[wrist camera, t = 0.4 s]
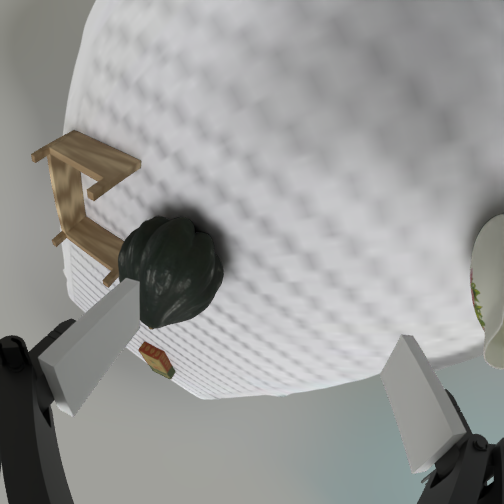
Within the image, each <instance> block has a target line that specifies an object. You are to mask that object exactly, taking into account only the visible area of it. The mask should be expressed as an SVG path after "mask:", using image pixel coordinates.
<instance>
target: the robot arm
mask: <svg viewBox="0 0 504 504" xmlns="http://www.w3.org/2000/svg"><path fill="white" fill-rule="evenodd" d="M139 287H140V282H139V281H135V280H132V279H128V278H125V279H124V280H123V281H122V282H121V283H119V284H118V285H117V286H116V287H115V288H114V289H112V290H111V291H110V292H109V293H108V294H107V295H105V296H104V297H103V298H102V299H101V300H100V301H98V302H97V303H96V304H95V305H94V306H93V307H92V308H91V309H89V310H88V311H87V312H86V313H85V314H84V315H83V316H82V317H81V318H79V319H78V320H77V321H76V320H74V319H69V320H67V321H64V322H62V323H60V324H59V325H58V326H57V327H56V328H55V329H54V330H53V331H51V332H50V333H49V334H48V336H46V337H45V338H43V339H42V340H41V341H40V342H39V343H38V344H37V345H36V346H35V347H34V348H33V349H32V350H31V351H29V352H28V350H27V347H26V344H25V342H24V340H23V339H22V338H20V337H18V336H13V335H11V336H6V337H4V338H2V339H0V471H1V461H2V469H3V476H4V482H5V488H6V493H7V498H8V503H9V504H74V502H73V499H72V497H71V493H70V490H69V487H68V484H67V480H66V477H65V473H64V469H63V466H62V462H61V457H60V453H59V448H58V444H57V438H56V433H55V427H54V421H53V414H52V409H51V406H50V404H51V403H52V402H53V401H54V400H55V402H56V404H57V406H58V408H59V409H60V410H62V411H63V412H66V413H67V414H69V415H70V416H72V417H74V416H75V415H76V413H77V412H78V410H79V409H80V407H81V406H82V404H83V403H84V402H85V401H86V399H87V398H88V396H89V395H90V394H91V392H92V391H93V390H94V388H95V387H96V385H97V384H98V383H99V381H100V380H101V378H102V377H103V376H104V375H105V373H106V372H107V371H108V369H109V368H110V366H111V365H112V364H113V362H114V361H115V360H116V358H117V357H118V356H119V355H120V353H121V351H123V349H124V348H125V347H126V345H127V344H128V343H129V341H130V340H131V339H132V338H133V336H134V335H135V334H136V332H137V331H138V330H139V329H140V302H139ZM380 376H381V379H382V381H383V384H384V387H385V390H386V393H387V395H388V398H389V401H390V404H391V407H392V410H393V413H394V416H395V419H396V422H397V425H398V428H399V431H400V434H401V438H402V441H403V444H404V447H405V451H406V454H407V457H408V461H409V465H410V468H411V472H412V474H414V473H419V472H424V471H427V470H428V469H429V468H430V467H431V466H432V465H433V464H435V467H436V469H435V470H434V471H433V472H431V473H430V474H429V475H428V476H427V477H425V478H424V479H423V480H422V481H421V483H423V482H425V481H426V480H427V479H429V480H428V482H427V483H426V484H425V485H426V486H425V489H424V491H423V493H422V495H421V497H420V499H419V501H418V502H417V504H504V438H502V439H501V440H500V441H499V442H498V443H497V444H488V442H487V440H486V439H485V438H484V437H483V436H481V435H479V434H472V432H471V430H470V428H469V426H468V424H467V422H466V420H465V418H464V416H463V414H462V412H460V411H461V410H460V408H459V406H457V402H456V401H455V399H454V397H453V396H452V395H451V393H450V392H449V391H448V390H447V389H444V388H443V386H442V384H441V382H440V380H439V378H438V377H437V375H436V373H435V371H434V370H433V368H432V366H431V365H430V363H429V361H428V359H427V358H426V356H425V354H424V353H423V351H422V350H421V348H420V346H419V345H418V343H417V341H416V340H415V338H414V337H413V336H411V335H402V334H401V336H400V338H399V340H398V342H397V344H396V346H395V348H394V350H393V352H392V354H391V355H390V357H389V359H388V361H387V363H386V365H385V366H384V368H383V370H382V372H381V373H380ZM493 476H494V481H493V482H492V483H491V484H489V485H488V486H487V481H488V480H489V479H490V478H492V477H493Z"/></svg>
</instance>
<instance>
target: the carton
mask: <svg viewBox="0 0 504 504" xmlns="http://www.w3.org/2000/svg"><path fill="white" fill-rule="evenodd" d="M139 352H140V353H141V355H142V356H143V358H144V359H145V361H146V362H147V363H148V365H149V366H150V367H151V369H152V370H153V371H154V372H156V373H158V374H160V375H162V376H164V377H166V378H168V379H172V377H173V375H174V374H175V372H176V371H175V370H174V368H173V366H172V365H171V363H170V361H169V359H168V357H167V355H166V354H165V352H164V351H162V350H160V349H158V348H156V347H154V346H152V345H151V344H149V343H147V342H144V343H143V344H142V345H141V347H140V348H139Z"/></svg>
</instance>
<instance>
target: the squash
mask: <svg viewBox="0 0 504 504" xmlns="http://www.w3.org/2000/svg"><path fill="white" fill-rule="evenodd" d="M118 269H119V281H120V283H121V282H122V281H123V280H124V279H125V278H128V279H132V280H135V281H139V282H140V287H139V302H140V320H141V322H143V323H144V324H145V325H147V326H148V327H149V329H154V328H161V327H163V326H166V325H170V324H174V323H179V322H183V321H186V320H189V319H192V318H194V317H195V316H197V315H198V314H200V313H201V312H202V311H204V310H205V309H206V308H207V307H208V306H209V304H210V303H211V301H212V300H213V298H214V296H215V294H216V292H217V290H218V289H219V287H220V286H221V284H222V280H223V275H224V270H223V266H222V263H221V261H220V259H219V258H218V256H217V255H216V254H215V253H214V244H213V241H212V239H211V237H210V236H209V235H208V234H206V233H202V232H198V233H195V228H194V225H193V223H192V222H191V221H190V220H189V219H187V218H184V217H180V218H176V219H173V220H169V219H167V218H164V217H154V218H152V219H150V220H146V221H144V222H143V223H142V224H141V226H140V227H139V228H137V229H136V230H134V231H133V232H132V233H131V234H130V235H129V236H128V237H127V238H126V239H125V241H124V242H123V244H122V247H121V250H120V252H119V255H118Z"/></svg>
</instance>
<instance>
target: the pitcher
mask: <svg viewBox="0 0 504 504" xmlns="http://www.w3.org/2000/svg"><path fill="white" fill-rule="evenodd" d="M470 284H471V293H472V300H473V305H474V309H475V312H476V315H477V318H478V320H479V322H480V324H481V326H482V328H483V330H484V332H485V341H484V359H485V361H486V363H487V364H488V365H490V366H491V367H494V368H497V369H504V214H500V215H497V216H495V217H493V218H491V219H490V220H489V221H488V222H487V223H486V224H485V225H484V226H483V228H482V229H481V231H480V233H479V234H478V236H477V238H476V241H475V244H474V247H473V252H472V258H471V267H470Z"/></svg>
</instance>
